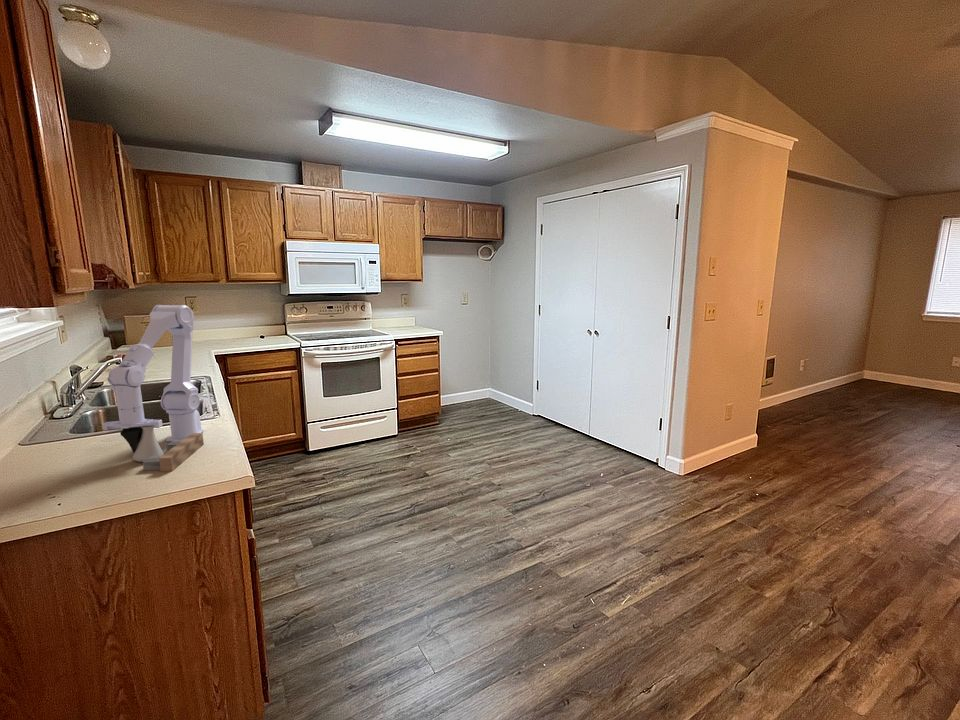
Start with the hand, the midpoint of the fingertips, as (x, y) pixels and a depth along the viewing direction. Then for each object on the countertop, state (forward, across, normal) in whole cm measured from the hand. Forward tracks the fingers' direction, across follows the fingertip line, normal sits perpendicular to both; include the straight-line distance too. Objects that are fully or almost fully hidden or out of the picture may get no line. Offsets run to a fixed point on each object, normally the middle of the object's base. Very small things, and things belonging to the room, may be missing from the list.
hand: (136, 451), depth 131 cm
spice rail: (+3, +10, 0) cm, 10 cm away
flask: (+2, +3, 0) cm, 4 cm away
